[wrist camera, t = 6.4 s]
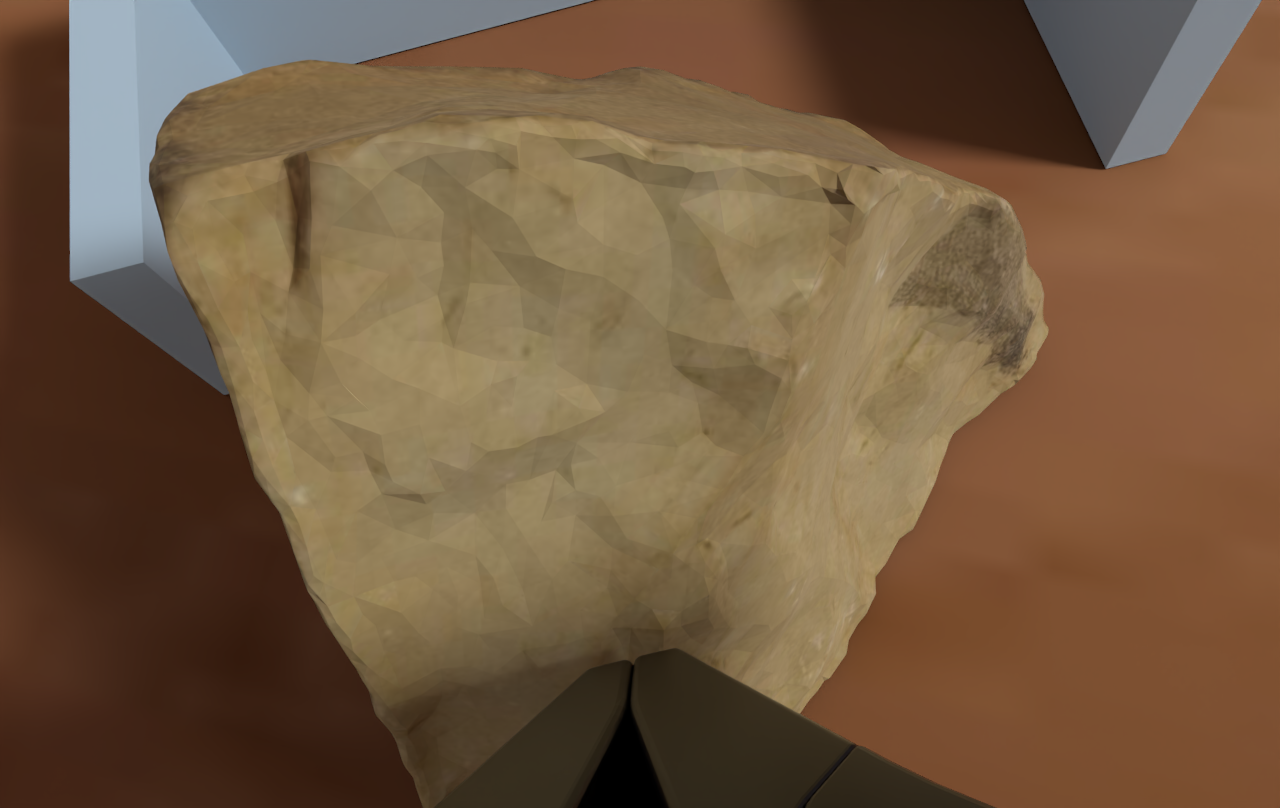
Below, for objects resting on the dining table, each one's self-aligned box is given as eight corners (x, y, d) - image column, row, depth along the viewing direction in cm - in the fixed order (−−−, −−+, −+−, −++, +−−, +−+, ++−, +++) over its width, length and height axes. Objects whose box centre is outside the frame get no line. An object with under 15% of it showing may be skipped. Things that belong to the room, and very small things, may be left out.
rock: (965, -3, 15) (298, 123, 14) (1561, -213, 7) (51, 53, 6) (1030, 636, 18) (477, 786, 17) (1512, 1036, 10) (483, 1383, 8)
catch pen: (1165, 153, 16) (1284, -36, 13) (224, 395, 17) (69, 281, 13) (1008, -152, 19) (1066, -381, 15) (201, 63, 19) (68, -110, 16)
